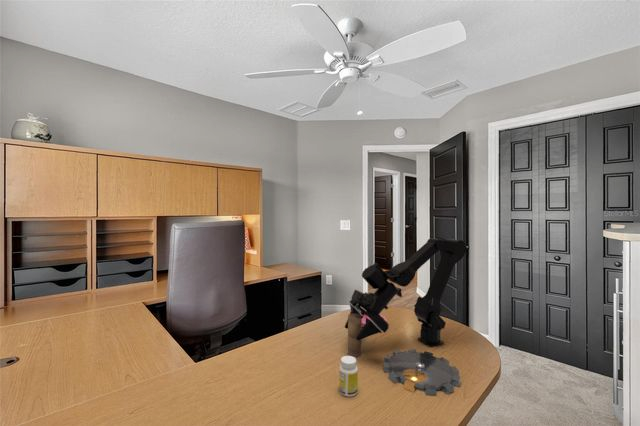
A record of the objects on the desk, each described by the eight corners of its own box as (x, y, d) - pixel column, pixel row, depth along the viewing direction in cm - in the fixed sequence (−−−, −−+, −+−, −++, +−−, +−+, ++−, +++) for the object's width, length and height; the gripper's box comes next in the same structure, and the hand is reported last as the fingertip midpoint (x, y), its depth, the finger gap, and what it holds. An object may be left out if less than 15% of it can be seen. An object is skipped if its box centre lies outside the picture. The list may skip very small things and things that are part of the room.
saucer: (384, 320, 123) (385, 313, 123) (388, 333, 111) (388, 325, 111) (355, 319, 125) (356, 312, 125) (356, 331, 112) (356, 323, 112)
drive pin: (356, 349, 97) (356, 312, 97) (363, 355, 93) (364, 317, 93) (345, 352, 95) (345, 314, 95) (352, 358, 91) (352, 319, 91)
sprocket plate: (420, 348, 98) (420, 342, 98) (477, 382, 79) (477, 374, 79) (369, 362, 89) (369, 354, 89) (419, 404, 70) (420, 395, 70)
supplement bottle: (359, 388, 76) (359, 356, 76) (355, 399, 72) (355, 365, 72) (341, 384, 78) (342, 353, 78) (337, 394, 73) (337, 362, 73)
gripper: (355, 275, 104) (325, 308, 101) (380, 289, 86) (346, 329, 83) (373, 295, 107) (345, 328, 103) (402, 313, 89) (370, 352, 86)
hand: (350, 333), depth 94 cm, fingers open, 9 cm apart
